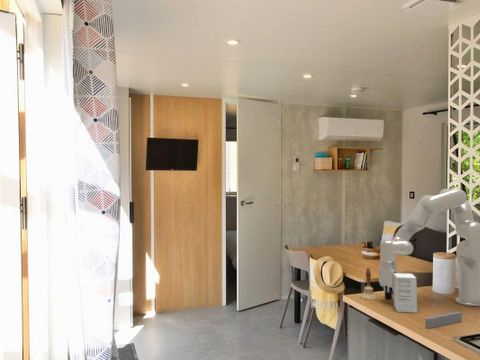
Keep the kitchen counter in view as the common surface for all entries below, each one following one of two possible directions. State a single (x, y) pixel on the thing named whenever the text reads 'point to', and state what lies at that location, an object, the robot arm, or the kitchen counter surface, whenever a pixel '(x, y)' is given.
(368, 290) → the hand bell
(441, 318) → the gray rectangular bar
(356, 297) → the kitchen counter surface
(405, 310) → the supplement box
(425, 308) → the kitchen counter surface
